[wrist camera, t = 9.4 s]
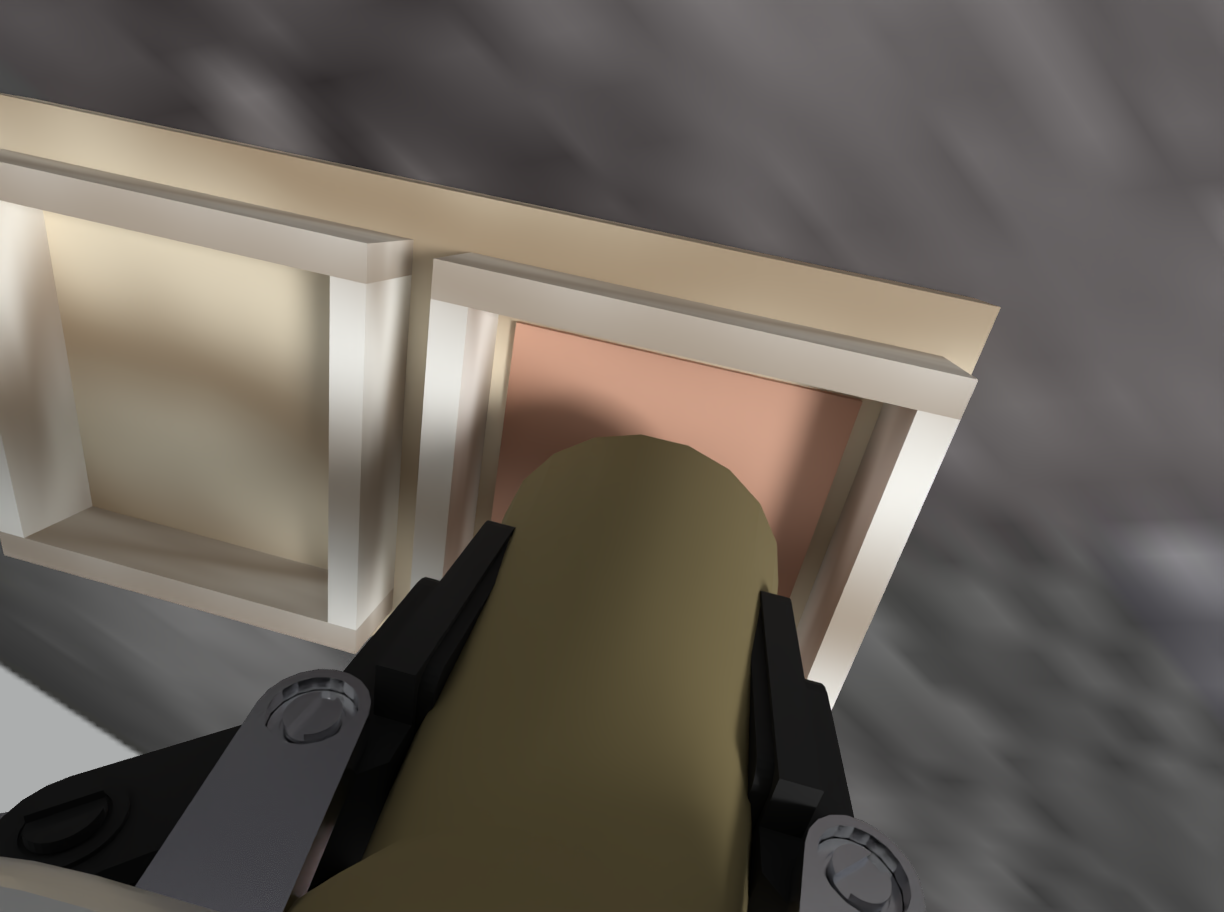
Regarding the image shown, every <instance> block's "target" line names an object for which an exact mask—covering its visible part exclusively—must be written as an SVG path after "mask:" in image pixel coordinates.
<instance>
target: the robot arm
mask: <svg viewBox="0 0 1224 912" xmlns="http://www.w3.org/2000/svg"><path fill="white" fill-rule="evenodd" d="M515 528H516V527H513V526H509V525H505V524H501V523H497V522H493V521H490V520H487V521H486V522H485V523H484V524H483V526H482V527H481V528H480V530H479V531H478V532H477V534H476V535H475V536H474V537H473V539H472V540H471V541H470V543H469V544H468V545H467V547H466V548H465V549H464V550H463V552H462V553H461V554H460V556H459V557H458V558H457V559H456V561H455V562H454V563H453V565H452V566H451V567H450V569H449V570H448V571H447V572H446V574H445V575H444V576H443V578H442V579H441V580H440V581H439V580H436V579H432V578H428V577H424V578H421V579H420V580H419V581H418V582H417V583H416V584H415V586H414V587H413V588H412V589H411V590H410V592H409V593H408V594H407V595H406V596H405V598H404V599H403V600H402V601H401V602H400V604H399V605H398V606H397V607H396V609H395V610H394V611H393V612H392V613H391V615H390V616H389V617H388V618H387V619H386V621H385V622H384V623H383V624H382V625H381V627H380V628H379V629H378V630H377V631H376V633H375V634H374V635H373V636H372V637H371V639H370V640H369V641H368V642H367V643H366V645H365V646H364V647H363V648H362V650H361V651H360V652H359V653H358V654H357V656H356V657H355V658H354V659H353V660H352V662H351V663H350V664H349V665H348V666H347V668H346V669H345V670H344V671H343V672H342V671H338V670H324V669H317V670H312V671H306V672H301V673H298V674H296V675H293V676H291V677H288V678H286V679H283V680H282V681H280V682H279V683H277V684H276V685H274V686H273V687H271V688H270V689H268V690H267V691H266V693H265V694H264V695H263V696H262V697H261V698H260V699H259V700H258V701H257V703H256V704H255V706H254V707H253V709H252V710H251V712H250V713H249V715H248V716H247V718H246V719H245V721H244V722H243V724H242V725H240V726H236V727H233V728H230V729H226V730H223V731H220V732H216V733H213V734H210V735H206V736H203V737H200V738H196V739H193V740H190V741H187V742H183V743H180V744H177V745H173V746H170V747H167V748H163V749H160V750H157V751H153V752H150V753H147V754H143V755H140V756H137V757H133V758H130V759H127V760H123V761H120V762H117V763H114V764H110V765H107V766H103V767H100V768H97V769H93V770H90V771H87V772H83V773H80V774H77V775H73V776H70V777H68V778H65V779H63V780H60V781H58V782H55V783H53V784H50V785H48V786H46V787H44V788H42V789H40V790H39V791H37V792H35V793H34V794H32V795H30V796H29V797H27V798H25V799H23V800H22V801H21V802H20V803H18V804H17V805H16V806H15V807H14V808H12V809H11V810H10V811H9V812H6V813H0V912H288V910H289V909H290V907H291V906H292V905H293V903H294V902H295V900H296V899H298V898H299V897H301V896H303V895H304V894H306V893H307V892H309V891H311V890H312V889H314V888H315V887H317V886H319V885H320V884H322V883H324V882H325V881H327V880H328V879H330V878H332V877H333V876H335V875H336V874H338V873H340V872H342V871H343V870H345V869H347V868H349V867H351V866H353V865H355V864H356V863H358V862H360V861H361V859H362V857H363V855H364V852H365V850H366V847H367V845H368V843H369V840H370V838H371V835H372V833H373V830H374V828H375V826H376V823H377V821H378V818H379V816H380V814H381V811H382V809H383V806H384V804H385V802H386V799H387V797H388V794H389V792H390V790H391V787H392V785H393V783H394V780H395V778H396V776H397V774H398V772H399V769H400V767H401V765H402V763H403V760H404V758H405V756H406V754H407V752H408V749H409V747H410V745H411V743H412V740H413V738H414V736H415V734H416V732H417V731H418V729H419V727H420V725H421V724H422V722H423V720H424V718H425V717H426V715H427V713H428V712H429V711H430V710H432V709H433V707H434V705H435V703H436V701H437V699H438V697H439V695H440V693H441V691H442V689H443V687H444V685H445V683H446V681H447V679H448V677H449V675H450V673H451V671H452V669H453V667H454V665H455V663H456V661H457V659H458V657H459V655H460V653H461V651H462V649H463V647H464V645H465V643H466V641H467V639H468V637H469V635H470V633H471V631H472V629H473V627H474V625H475V623H476V621H477V619H478V617H479V615H480V613H481V611H482V609H483V607H484V605H485V603H486V601H487V599H488V597H489V595H490V593H491V591H492V589H493V587H494V585H495V582H496V579H497V576H498V572H499V569H500V566H501V563H502V560H503V557H504V554H505V551H506V548H507V545H508V542H509V538H510V537H511V535H512V533H513V531H514V529H515ZM748 800H749V802H750V804H751V819H752V846H751V863H750V880H749V896H748V907H747V912H926V907H925V898H924V894H923V890H922V886H921V882H920V879H919V877H918V875H917V873H916V871H915V870H914V868H913V866H912V864H911V862H910V861H909V859H908V858H907V857H906V856H905V854H904V853H903V852H902V851H901V850H900V848H899V847H898V846H897V845H896V844H895V843H894V842H893V841H892V840H891V839H889V838H888V837H887V836H886V835H885V834H884V833H882V832H881V831H880V830H878V829H877V828H875V827H873V826H871V825H870V824H868V823H866V822H864V821H863V820H859V819H856V818H854V815H853V810H852V805H851V801H850V796H849V791H848V787H847V782H846V777H845V773H844V768H843V763H842V759H841V754H840V749H839V745H838V740H837V735H836V731H835V726H834V721H833V717H832V712H831V707H830V703H829V698H828V694H827V691H826V688H825V686H824V685H823V684H822V683H819V682H815V681H812V680H808V679H805V677H804V671H803V666H802V660H801V654H800V648H799V642H798V636H797V631H796V625H795V619H794V613H793V607H792V602H791V599H790V598H788V597H784V596H780V595H776V594H772V593H769V592H765V591H760V610H759V616H758V621H757V626H756V632H755V637H754V642H753V648H752V653H751V679H750V721H749V763H748Z"/></svg>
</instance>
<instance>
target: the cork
mask: <svg viewBox="0 0 1224 912" xmlns="http://www.w3.org/2000/svg"><path fill="white" fill-rule="evenodd" d="M501 524H505V525H509V526H513V527H516V528H515V529H514V531H513V533H512V535H511V537H510V538H509V542H508V545H507V548H506V551H505V554H504V557H503V560H502V563H501V566H500V569H499V572H498V576H497V579H496V582H495V585H494V587H493V589H492V591H491V593H490V595H489V597H488V599H487V601H486V603H485V605H484V607H483V609H482V611H481V613H480V615H479V617H478V619H477V621H476V623H475V625H474V627H473V629H472V631H471V633H470V635H469V637H468V639H467V641H466V643H465V645H464V647H463V649H462V651H461V653H460V655H459V657H458V659H457V661H456V663H455V665H454V667H453V669H452V671H451V673H450V675H449V677H448V679H447V681H446V683H445V685H444V687H443V689H442V691H441V693H440V695H439V697H438V699H437V701H436V703H435V705H434V707H433V709H432V710H430V711H429V712H428V713H427V715H426V717H425V718H424V720H423V722H422V724H421V725H420V727H419V729H418V731H417V732H416V734H415V736H414V738H413V740H412V743H411V745H410V747H409V749H408V752H407V754H406V756H405V758H404V760H403V763H402V765H401V767H400V769H399V772H398V774H397V776H396V778H395V780H394V783H393V785H392V787H391V790H390V792H389V794H388V797H387V799H386V802H385V804H384V806H383V809H382V811H381V814H380V816H379V818H378V821H377V823H376V826H375V828H374V830H373V833H372V835H371V838H370V840H369V843H368V845H367V847H366V850H365V852H364V855H363V857H362V859H361V861H360V862H358V863H356V864H355V865H353V866H351V867H349V868H347V869H345V870H343V871H342V872H340V873H338V874H336V875H335V876H333V877H332V878H330V879H328V880H327V881H325V882H324V883H322V884H320V885H319V886H317V887H315V888H314V889H312V890H311V891H309V892H307V893H306V894H304V895H303V896H301V897H299V898H298V899H296V900H295V902H294V903H293V905H292V906H291V907H290V909H289V910H288V912H747V907H748V896H749V880H750V863H751V846H752V819H751V804H750V802H749V800H748V763H749V721H750V679H751V653H752V648H753V642H754V637H755V632H756V626H757V621H758V616H759V610H760V591H765V592H769V593H772V594H776V595H777V591H778V561H777V542H776V540H775V537H774V535H773V533H772V530H771V528H770V526H769V523H768V521H767V518H766V516H765V514H764V511H763V509H762V507H761V504H760V503H759V502H758V501H757V499H756V498H755V497H754V496H753V495H752V494H751V493H750V492H749V491H748V489H747V488H746V487H745V486H744V485H743V484H742V483H741V482H740V481H739V479H738V478H737V477H736V476H735V475H734V474H733V473H732V472H731V471H730V470H729V469H728V468H726V467H724V466H723V465H721V464H719V463H717V462H716V461H714V460H712V459H711V458H709V457H707V456H705V455H704V454H702V453H700V452H698V451H697V450H695V449H693V448H692V447H690V446H688V445H684V444H680V443H675V442H671V441H667V440H663V439H659V438H654V437H650V436H646V435H642V434H640V435H625V436H609V437H595V438H592V439H590V440H587V441H584V442H582V443H579V444H577V445H574V446H572V447H569V448H567V449H564V450H562V451H559V452H557V453H554V454H553V455H552V456H551V457H549V458H548V459H547V460H546V461H545V462H544V463H543V464H541V465H540V466H539V467H538V468H537V469H536V470H535V471H533V472H532V473H531V474H530V475H529V476H528V477H527V478H525V479H524V480H523V482H522V484H521V485H520V487H519V489H518V491H517V493H516V495H515V497H514V498H513V500H512V502H511V504H510V506H509V508H508V510H507V511H506V513H505V516H504V518H503V520H502V523H501Z"/></svg>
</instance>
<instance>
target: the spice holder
mask: <svg viewBox="0 0 1224 912" xmlns="http://www.w3.org/2000/svg"><path fill="white" fill-rule="evenodd" d="M1000 308H1001V307H998V306H995V305H992V304H989V303H986V302H983V301H980V300H978V299H975V298H971V297H966V296H961V295H957V294H952V293H947V292H943V291H938V290H933V289H928V288H924V287H919V286H914V285H910V284H905V283H900V282H895V281H891V280H886V279H881V278H877V277H872V276H867V275H863V274H858V273H853V272H848V271H844V270H839V269H834V268H830V267H825V266H820V265H815V264H811V263H806V262H801V261H797V260H792V259H787V258H782V257H778V256H773V255H768V254H764V253H759V252H754V251H749V250H745V249H740V248H735V247H731V246H726V245H721V244H716V243H712V242H707V241H702V240H698V239H693V238H688V237H683V236H679V235H674V234H669V233H665V232H660V231H655V230H650V229H646V228H641V227H636V226H632V225H627V224H622V223H618V222H613V221H608V220H603V219H599V218H594V217H589V216H585V215H580V214H575V213H570V212H566V211H561V210H556V209H552V208H547V207H542V206H537V205H533V204H528V203H523V202H519V201H514V200H509V199H504V198H500V197H495V196H490V195H486V194H481V193H476V192H471V191H467V190H462V189H457V188H453V187H448V186H443V185H438V184H434V183H429V182H424V181H420V180H415V179H410V178H405V177H401V176H396V175H391V174H387V173H382V172H377V171H373V170H368V169H363V168H358V167H354V166H349V165H344V164H340V163H335V162H330V161H325V160H321V159H316V158H311V157H307V156H302V155H297V154H292V153H288V152H283V151H278V150H274V149H269V148H264V147H259V146H255V145H250V144H245V143H241V142H236V141H231V140H226V139H222V138H217V137H212V136H208V135H203V134H198V133H193V132H189V131H184V130H179V129H175V128H170V127H165V126H160V125H156V124H151V123H146V122H142V121H137V120H132V119H127V118H123V117H118V116H113V115H109V114H104V113H99V112H95V111H90V110H85V109H80V108H76V107H71V106H66V105H62V104H57V103H52V102H47V101H43V100H38V99H33V98H27V97H21V96H15V95H9V94H3V93H0V540H1V544H2V548H3V552H4V555H6V556H9V557H13V558H17V559H20V560H24V561H27V562H31V563H34V564H38V565H41V566H45V567H48V568H52V569H56V570H59V571H63V572H66V573H70V574H73V575H77V576H80V577H84V578H87V579H91V580H95V581H98V582H102V583H105V584H109V585H112V586H116V587H119V588H123V589H126V590H130V591H134V592H137V593H141V594H144V595H148V596H151V597H155V598H158V599H162V600H165V601H169V602H173V603H176V604H180V605H183V606H187V607H190V608H194V609H197V610H201V611H204V612H208V613H212V614H215V615H219V616H222V617H226V618H229V619H233V620H236V621H240V622H243V623H247V624H251V625H254V626H258V627H261V628H265V629H268V630H272V631H275V632H279V633H283V634H286V635H290V636H293V637H297V638H300V639H304V640H307V641H311V642H314V643H318V644H322V645H325V646H329V647H332V648H336V649H339V650H343V651H346V652H350V653H353V654H356V653H357V652H358V650H359V649H360V648H361V647H362V645H363V644H364V643H365V642H366V641H367V639H368V638H369V637H370V636H373V635H374V634H375V633H376V631H377V630H378V629H379V628H380V627H381V625H382V624H383V623H384V622H385V621H386V619H387V618H388V617H389V616H390V615H391V613H392V612H393V611H394V610H395V609H396V607H397V606H398V605H399V604H400V602H401V601H402V600H403V599H404V598H405V596H406V595H407V594H408V593H409V592H410V590H411V589H412V588H413V587H414V586H415V584H416V583H417V582H418V581H419V580H420V579H421V578H424V577H428V578H432V579H436V580H439V581H440V580H441V579H442V578H443V576H444V575H445V574H446V572H447V571H448V570H449V569H450V567H451V566H452V565H453V563H454V562H455V561H456V559H457V558H458V557H459V556H460V554H461V553H462V552H463V550H464V549H465V548H466V547H467V545H468V544H469V543H470V541H471V540H472V539H473V537H474V536H475V535H476V534H477V532H478V531H479V530H480V528H481V527H482V526H483V524H484V523H485V522H486V521H487V520H490V521H493V522H497V523H502V520H503V518H504V516H505V513H506V511H507V510H508V508H509V506H510V504H511V502H512V500H513V498H514V497H515V495H516V493H517V491H518V489H519V487H520V485H521V484H522V482H523V480H524V479H525V478H527V477H528V476H529V475H530V474H531V473H532V472H533V471H535V470H536V469H537V468H538V467H539V466H540V465H541V464H543V463H544V462H545V461H546V460H547V459H548V458H549V457H551V456H552V455H553V454H554V453H557V452H559V451H562V450H564V449H567V448H569V447H572V446H574V445H577V444H579V443H582V442H584V441H587V440H590V439H592V438H595V437H609V436H625V435H640V434H642V435H646V436H650V437H654V438H659V439H663V440H667V441H671V442H675V443H680V444H684V445H688V446H690V447H692V448H693V449H695V450H697V451H698V452H700V453H702V454H704V455H705V456H707V457H709V458H711V459H712V460H714V461H716V462H717V463H719V464H721V465H723V466H724V467H726V468H728V469H729V470H730V471H731V472H732V473H733V474H734V475H735V476H736V477H737V478H738V479H739V481H740V482H741V483H742V484H743V485H744V486H745V487H746V488H747V489H748V491H749V492H750V493H751V494H752V495H753V496H754V497H755V498H756V499H757V501H758V502H759V503H760V504H761V507H762V509H763V511H764V514H765V516H766V518H767V521H768V523H769V526H770V528H771V530H772V533H773V535H774V537H775V540H776V542H777V561H778V591H777V595H780V596H784V597H788V598H790V599H791V602H792V607H793V613H794V619H795V625H796V631H797V636H798V642H799V648H800V654H801V660H802V666H803V671H804V677H805V679H808V680H812V681H815V682H819V683H822V684H823V685H824V686H825V688H826V691H827V694H828V698H829V703H830V707H831V710H832V708H833V706H834V703H835V701H836V699H837V697H838V694H839V692H840V690H841V688H842V685H843V683H844V681H845V679H846V676H847V674H848V672H849V670H850V667H851V665H852V663H853V661H854V658H855V656H856V654H857V652H858V649H859V647H860V645H861V643H862V640H863V638H864V636H865V634H866V631H867V629H868V627H869V625H870V622H871V620H872V618H873V616H874V613H875V611H876V609H877V607H878V604H879V602H880V600H881V598H882V595H883V593H884V591H885V589H886V586H887V584H888V582H889V580H890V577H891V575H892V573H893V571H894V568H895V566H896V564H897V562H898V559H899V557H900V555H901V553H902V550H903V548H904V546H905V544H906V541H907V539H908V537H909V535H910V532H911V530H912V528H913V526H914V523H915V521H916V519H917V517H918V514H919V512H920V510H921V508H922V505H923V503H924V501H925V499H926V496H927V494H928V492H929V490H930V487H931V485H932V483H933V481H934V478H935V476H936V474H937V472H938V469H939V467H940V465H941V463H942V460H943V458H944V456H945V454H946V451H947V449H948V447H949V445H950V442H951V440H952V438H953V435H954V433H955V431H956V429H957V426H958V424H959V422H960V420H961V417H962V415H963V413H964V411H965V408H966V406H967V404H968V402H969V399H970V397H971V395H972V393H973V390H974V388H975V386H976V384H977V381H978V379H976V378H975V377H973V376H972V375H971V374H972V372H973V369H974V367H975V365H976V362H977V360H978V358H979V356H980V353H981V351H982V349H983V346H984V344H985V342H986V340H987V337H988V335H989V333H990V330H991V328H992V326H993V324H994V321H995V319H996V317H997V314H998V312H999V310H1000Z"/></svg>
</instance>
